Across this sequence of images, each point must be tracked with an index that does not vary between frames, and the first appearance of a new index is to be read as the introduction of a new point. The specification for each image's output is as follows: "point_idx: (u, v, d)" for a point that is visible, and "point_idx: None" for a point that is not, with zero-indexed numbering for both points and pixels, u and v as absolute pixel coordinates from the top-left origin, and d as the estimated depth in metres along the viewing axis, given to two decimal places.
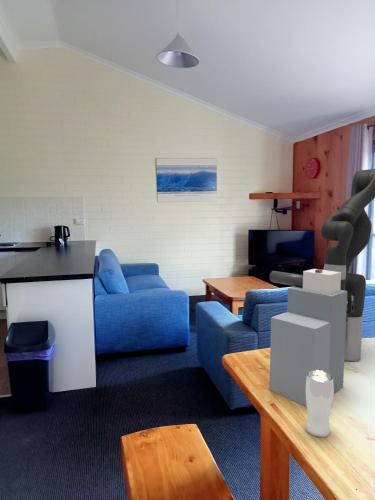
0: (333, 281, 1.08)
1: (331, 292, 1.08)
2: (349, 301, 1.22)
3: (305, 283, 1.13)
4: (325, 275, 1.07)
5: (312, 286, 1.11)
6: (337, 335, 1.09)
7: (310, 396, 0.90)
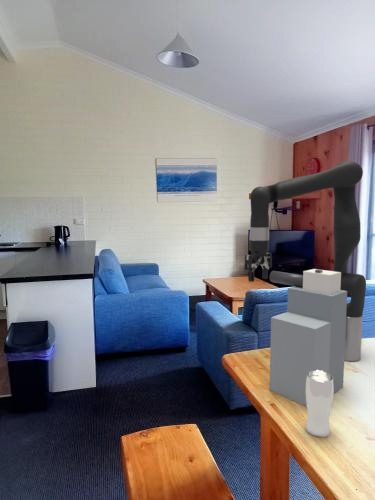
0: (333, 281, 1.08)
1: (331, 292, 1.08)
2: (271, 257, 1.41)
3: (305, 283, 1.13)
4: (325, 275, 1.07)
5: (312, 286, 1.11)
6: (337, 335, 1.09)
7: (310, 396, 0.90)
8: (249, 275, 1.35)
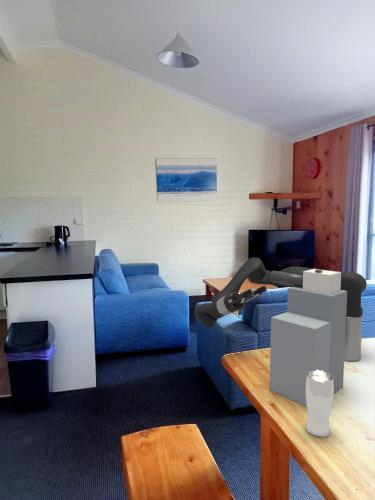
0: (333, 281, 1.08)
1: (331, 292, 1.08)
2: (252, 292, 1.42)
3: (305, 283, 1.13)
4: (325, 275, 1.07)
5: (312, 286, 1.11)
6: (337, 335, 1.09)
7: (310, 396, 0.90)
8: (245, 294, 1.30)
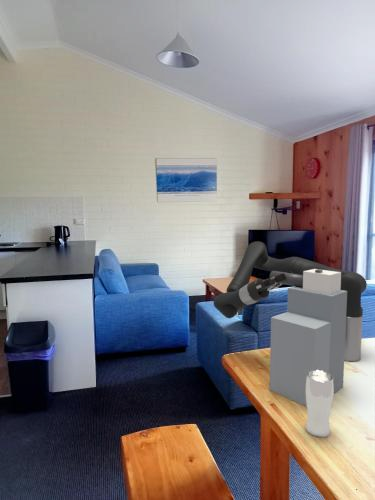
0: (333, 281, 1.08)
1: (331, 292, 1.08)
2: None
3: (305, 283, 1.13)
4: (325, 275, 1.07)
5: (312, 286, 1.11)
6: (337, 335, 1.09)
7: (310, 396, 0.90)
8: (278, 279, 1.21)
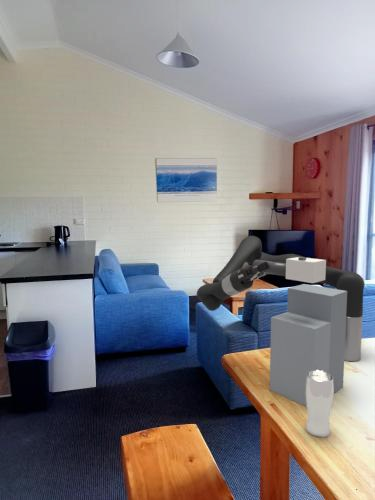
0: (317, 269, 1.01)
1: (315, 281, 1.01)
2: None
3: (288, 271, 1.06)
4: (308, 262, 1.01)
5: (295, 274, 1.04)
6: (337, 335, 1.09)
7: (310, 396, 0.90)
8: (260, 267, 1.14)
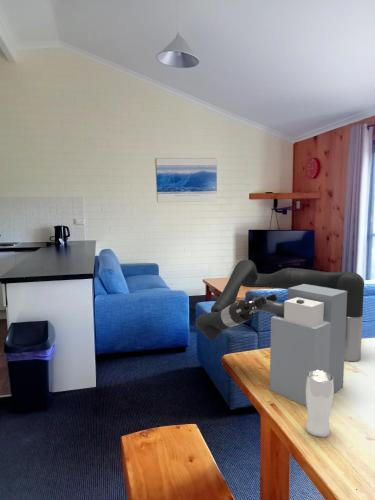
0: (315, 312, 1.02)
1: (313, 325, 1.02)
2: None
3: (286, 313, 1.07)
4: (306, 307, 1.02)
5: (293, 317, 1.05)
6: (337, 335, 1.09)
7: (310, 396, 0.90)
8: (257, 303, 1.15)
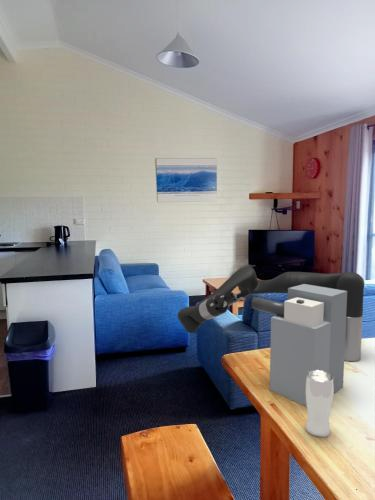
0: (315, 312, 1.02)
1: (313, 325, 1.02)
2: None
3: (286, 313, 1.07)
4: (306, 307, 1.02)
5: (293, 317, 1.05)
6: (337, 335, 1.09)
7: (310, 396, 0.90)
8: (226, 298, 1.23)
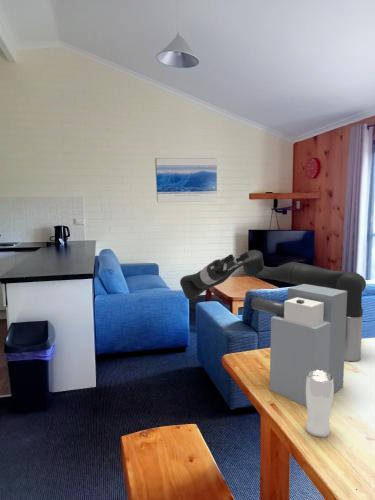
0: (315, 312, 1.02)
1: (313, 325, 1.02)
2: None
3: (286, 313, 1.07)
4: (306, 307, 1.02)
5: (293, 317, 1.05)
6: (337, 335, 1.09)
7: (310, 396, 0.90)
8: (226, 260, 1.28)
